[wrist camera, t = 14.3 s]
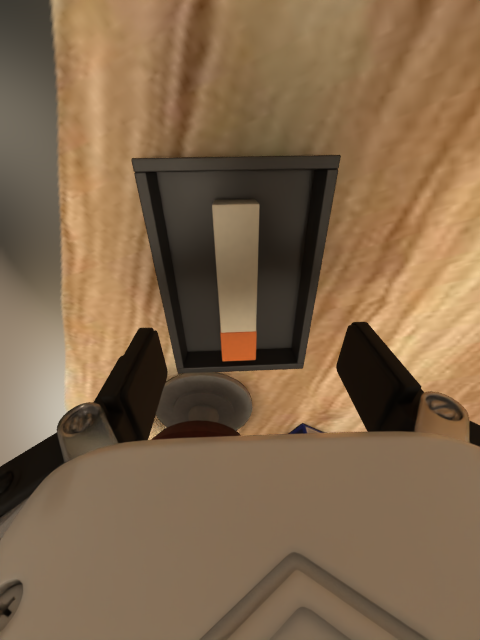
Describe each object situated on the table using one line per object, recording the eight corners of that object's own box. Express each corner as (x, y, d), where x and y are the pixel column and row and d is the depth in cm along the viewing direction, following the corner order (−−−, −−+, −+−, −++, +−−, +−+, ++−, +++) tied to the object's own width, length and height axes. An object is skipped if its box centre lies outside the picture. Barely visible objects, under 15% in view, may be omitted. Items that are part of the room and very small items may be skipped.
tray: (145, 160, 16) (130, 158, 14) (324, 157, 16) (341, 155, 14) (182, 353, 25) (177, 374, 23) (295, 349, 26) (303, 368, 23)
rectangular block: (213, 199, 17) (210, 204, 15) (255, 198, 17) (260, 203, 15) (222, 341, 24) (222, 361, 22) (252, 339, 24) (255, 360, 22)
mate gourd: (277, 384, 29) (347, 688, 12) (232, 444, 35) (236, 695, 18) (150, 347, 25) (-17, 723, 8) (126, 422, 31) (6, 715, 14)
